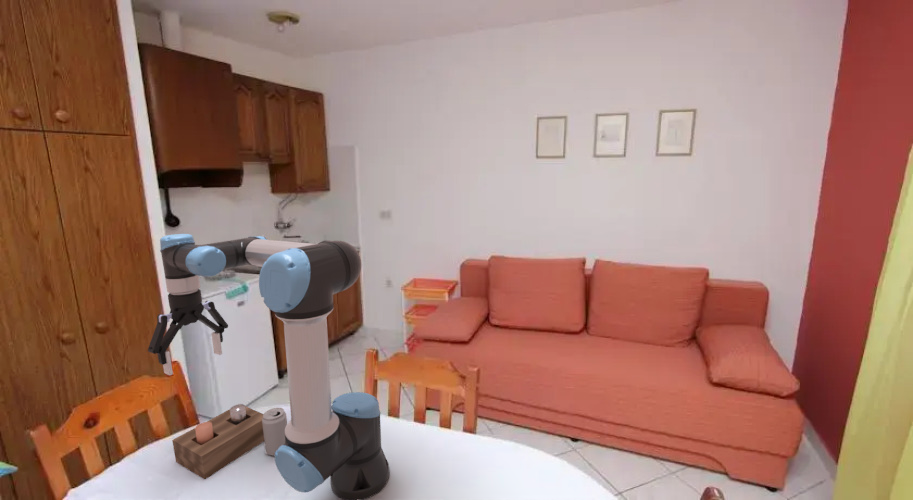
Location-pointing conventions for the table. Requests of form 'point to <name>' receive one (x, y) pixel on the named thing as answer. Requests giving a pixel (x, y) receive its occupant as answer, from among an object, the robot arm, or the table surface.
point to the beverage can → (274, 429)
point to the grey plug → (238, 414)
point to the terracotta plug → (204, 432)
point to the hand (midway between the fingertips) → (194, 363)
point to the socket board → (219, 443)
